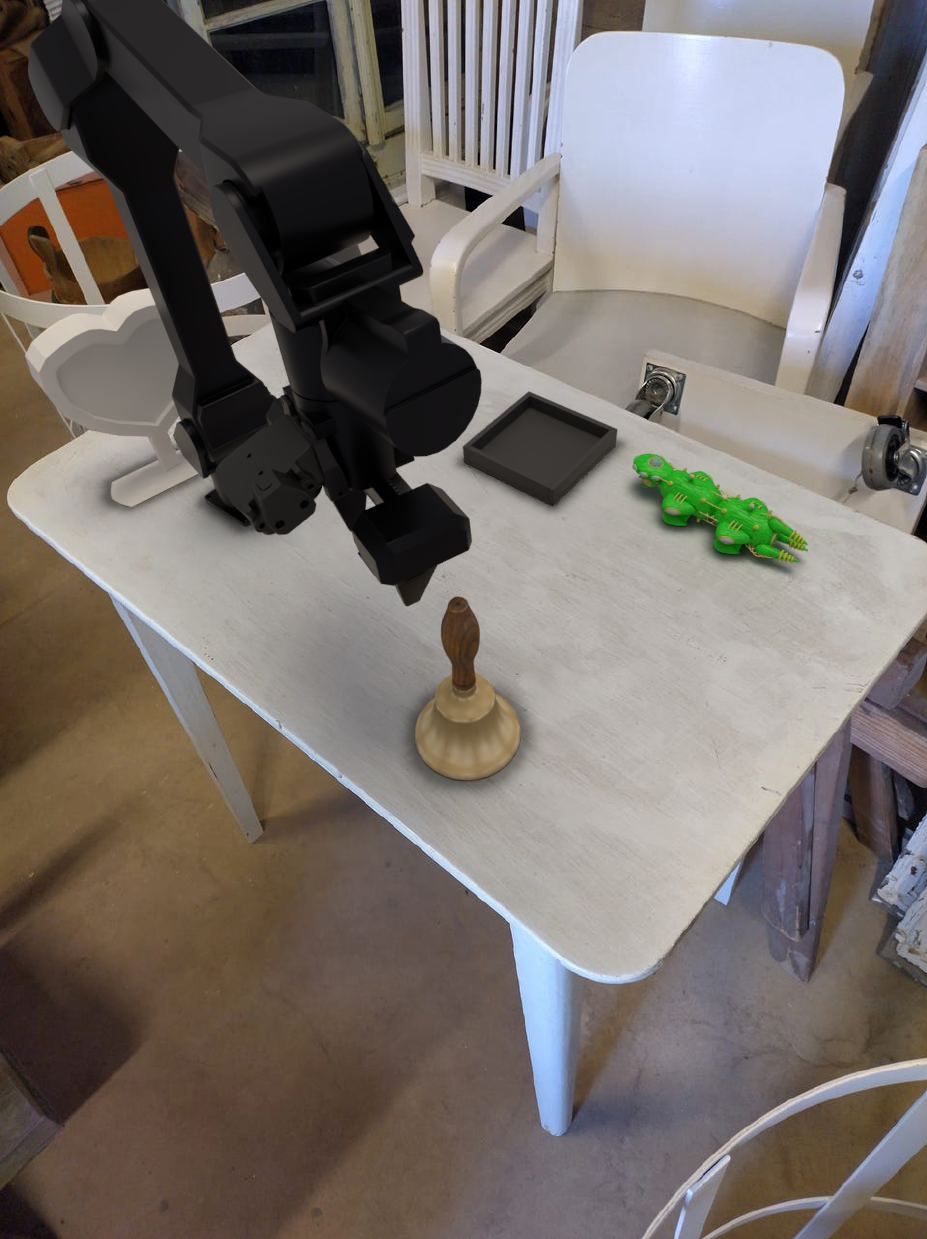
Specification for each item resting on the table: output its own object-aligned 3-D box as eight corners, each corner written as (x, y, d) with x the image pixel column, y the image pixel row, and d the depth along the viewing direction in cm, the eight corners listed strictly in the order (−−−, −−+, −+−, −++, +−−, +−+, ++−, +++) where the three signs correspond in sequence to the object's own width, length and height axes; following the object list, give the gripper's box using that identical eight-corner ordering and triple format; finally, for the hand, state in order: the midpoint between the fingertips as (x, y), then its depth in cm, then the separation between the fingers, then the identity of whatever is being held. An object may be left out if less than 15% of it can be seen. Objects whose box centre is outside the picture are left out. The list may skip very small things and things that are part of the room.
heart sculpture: (113, 516, 82) (28, 359, 68) (94, 490, 84) (8, 335, 70) (248, 448, 87) (196, 290, 73) (226, 426, 90) (171, 270, 76)
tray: (463, 462, 84) (462, 446, 82) (528, 407, 89) (528, 390, 87) (552, 506, 79) (553, 490, 77) (616, 445, 84) (617, 428, 82)
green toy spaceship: (651, 464, 82) (656, 429, 79) (816, 547, 74) (830, 513, 70) (611, 498, 79) (615, 464, 76) (778, 589, 71) (791, 555, 67)
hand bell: (523, 691, 66) (523, 556, 53) (517, 784, 61) (516, 658, 48) (422, 686, 67) (398, 551, 54) (407, 777, 62) (378, 651, 49)
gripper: (160, 352, 51) (235, 536, 62) (265, 516, 39) (333, 703, 51) (322, 295, 54) (365, 480, 65) (464, 432, 42) (485, 626, 54)
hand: (382, 564), depth 59 cm, fingers open, 9 cm apart
